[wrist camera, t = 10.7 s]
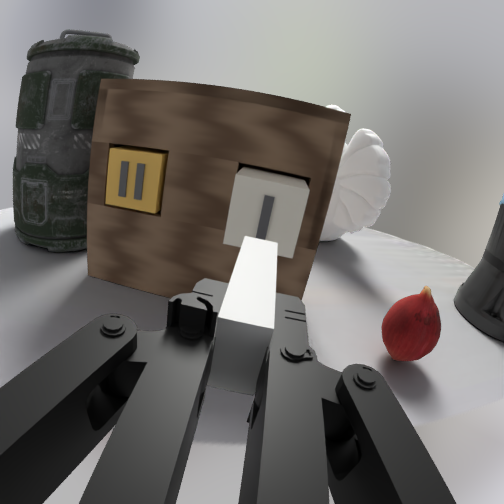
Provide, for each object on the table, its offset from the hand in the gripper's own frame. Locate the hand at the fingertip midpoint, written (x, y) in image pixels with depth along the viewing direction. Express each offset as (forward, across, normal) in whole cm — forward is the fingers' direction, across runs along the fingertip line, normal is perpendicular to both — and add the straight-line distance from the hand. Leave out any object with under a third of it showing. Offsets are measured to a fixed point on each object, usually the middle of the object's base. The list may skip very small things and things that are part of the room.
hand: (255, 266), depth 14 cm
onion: (+9, +16, -11) cm, 21 cm away
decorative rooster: (+40, +10, -11) cm, 43 cm away
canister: (+21, -27, -11) cm, 36 cm away
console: (+16, -6, -11) cm, 21 cm away
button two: (+14, -12, -2) cm, 19 cm away
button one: (+11, 0, -3) cm, 11 cm away
